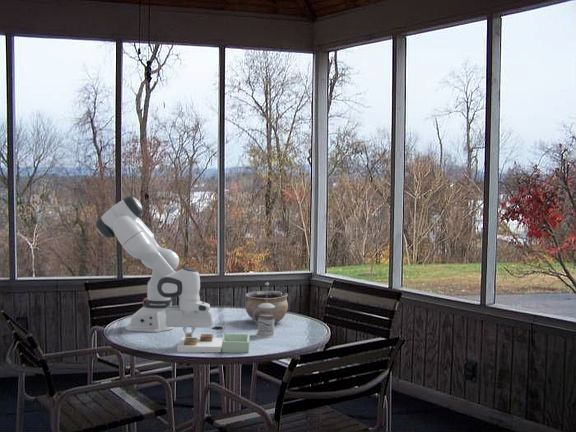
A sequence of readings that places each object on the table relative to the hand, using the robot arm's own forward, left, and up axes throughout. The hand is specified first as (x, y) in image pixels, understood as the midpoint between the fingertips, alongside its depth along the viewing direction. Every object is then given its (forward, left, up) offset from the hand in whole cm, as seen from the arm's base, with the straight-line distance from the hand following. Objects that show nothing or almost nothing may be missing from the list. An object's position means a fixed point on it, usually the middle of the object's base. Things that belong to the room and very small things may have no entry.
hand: (188, 337), depth 279 cm
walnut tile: (+8, 0, -1) cm, 8 cm away
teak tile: (+2, -7, -1) cm, 7 cm away
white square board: (+6, -3, -4) cm, 7 cm away
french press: (+33, +22, -4) cm, 39 cm away
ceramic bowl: (+34, +50, -4) cm, 60 cm away
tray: (+21, -3, -4) cm, 21 cm away
